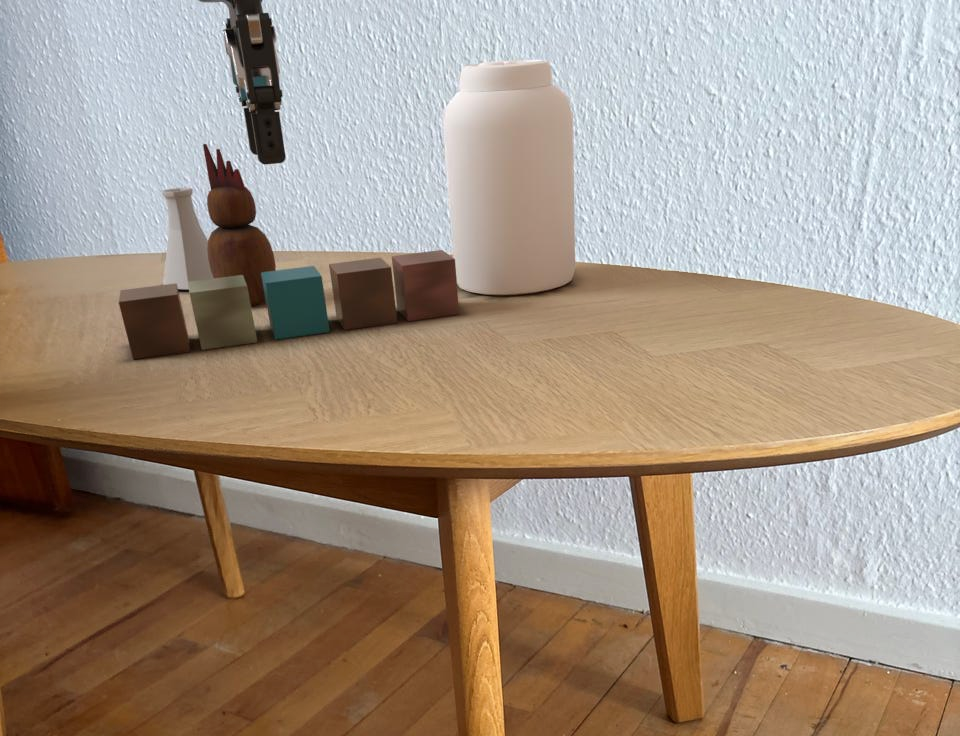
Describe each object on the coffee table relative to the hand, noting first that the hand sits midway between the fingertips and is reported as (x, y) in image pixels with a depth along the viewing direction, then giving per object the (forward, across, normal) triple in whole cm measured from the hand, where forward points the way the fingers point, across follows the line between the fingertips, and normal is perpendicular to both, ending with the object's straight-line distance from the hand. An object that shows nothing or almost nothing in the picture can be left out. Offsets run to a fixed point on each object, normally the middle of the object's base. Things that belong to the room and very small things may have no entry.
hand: (267, 158), depth 85 cm
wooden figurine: (+15, -14, -3) cm, 21 cm away
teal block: (+15, 0, 0) cm, 15 cm away
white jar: (+14, -7, +24) cm, 29 cm away
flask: (+15, -27, -8) cm, 32 cm away
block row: (+15, 0, 0) cm, 15 cm away
